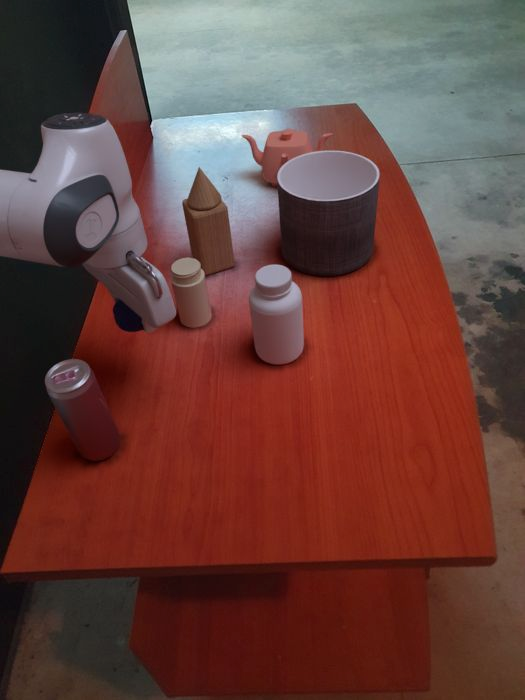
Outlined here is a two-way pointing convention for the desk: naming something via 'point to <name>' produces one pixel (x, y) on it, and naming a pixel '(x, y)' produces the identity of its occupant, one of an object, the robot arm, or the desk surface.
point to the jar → (190, 292)
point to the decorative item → (208, 226)
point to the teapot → (282, 150)
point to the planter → (328, 211)
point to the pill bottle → (276, 315)
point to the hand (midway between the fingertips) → (136, 317)
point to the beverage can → (83, 409)
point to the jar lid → (126, 317)
